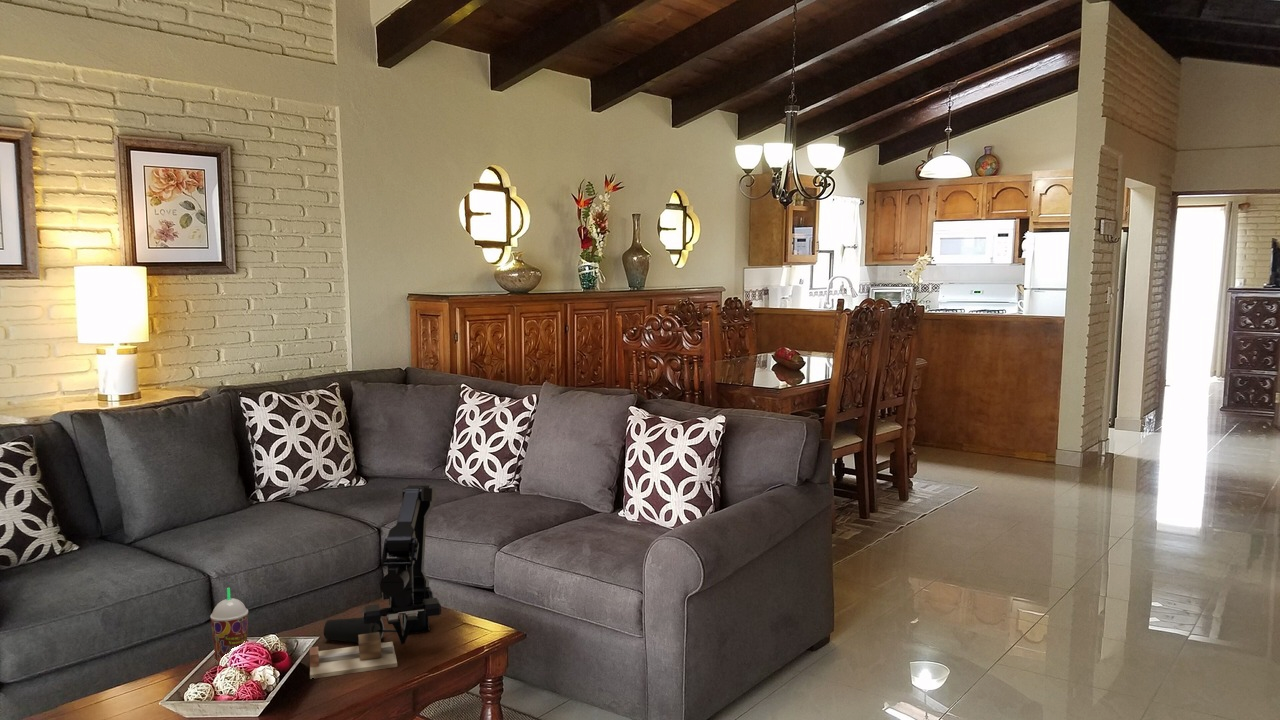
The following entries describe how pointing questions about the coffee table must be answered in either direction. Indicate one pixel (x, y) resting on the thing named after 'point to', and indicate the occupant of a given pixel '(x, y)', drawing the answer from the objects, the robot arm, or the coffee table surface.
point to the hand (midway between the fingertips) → (402, 643)
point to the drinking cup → (352, 629)
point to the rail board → (348, 661)
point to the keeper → (369, 646)
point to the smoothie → (228, 625)
